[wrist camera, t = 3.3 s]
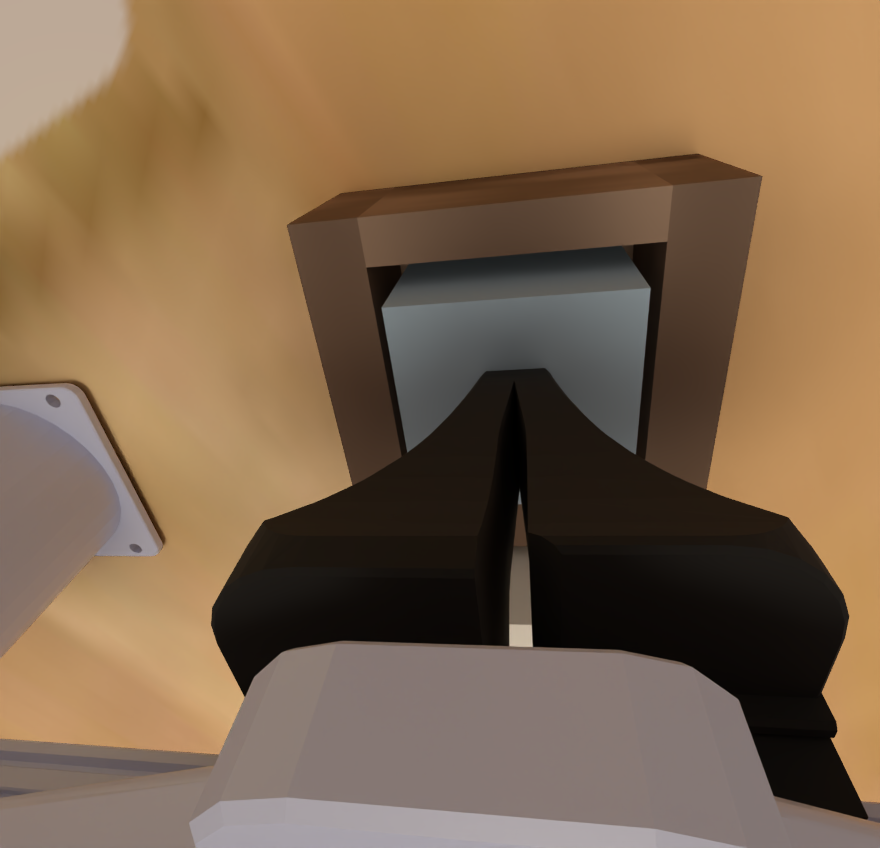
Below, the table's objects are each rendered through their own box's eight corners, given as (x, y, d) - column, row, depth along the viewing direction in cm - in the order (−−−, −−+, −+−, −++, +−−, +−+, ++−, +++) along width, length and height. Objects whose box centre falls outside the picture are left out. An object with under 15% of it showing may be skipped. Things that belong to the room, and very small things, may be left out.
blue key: (434, 434, 16) (416, 505, 13) (409, 263, 13) (381, 307, 10) (610, 428, 15) (631, 503, 12) (621, 244, 12) (650, 288, 10)
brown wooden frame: (420, 599, 23) (403, 688, 19) (340, 193, 14) (287, 224, 11) (644, 603, 21) (668, 700, 18) (697, 153, 13) (762, 175, 9)
